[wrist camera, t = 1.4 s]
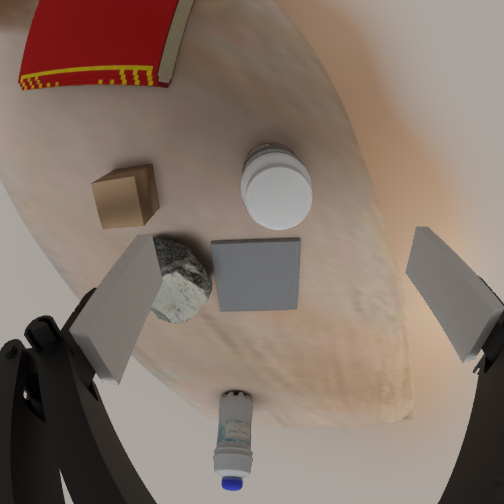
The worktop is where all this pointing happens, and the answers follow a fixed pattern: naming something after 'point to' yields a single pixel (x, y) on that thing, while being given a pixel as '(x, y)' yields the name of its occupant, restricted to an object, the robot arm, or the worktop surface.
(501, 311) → the robot arm
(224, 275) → the coaster
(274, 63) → the worktop surface
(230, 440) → the bottle
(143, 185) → the walnut block
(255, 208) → the pill bottle
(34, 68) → the book
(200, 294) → the stone
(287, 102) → the worktop surface
